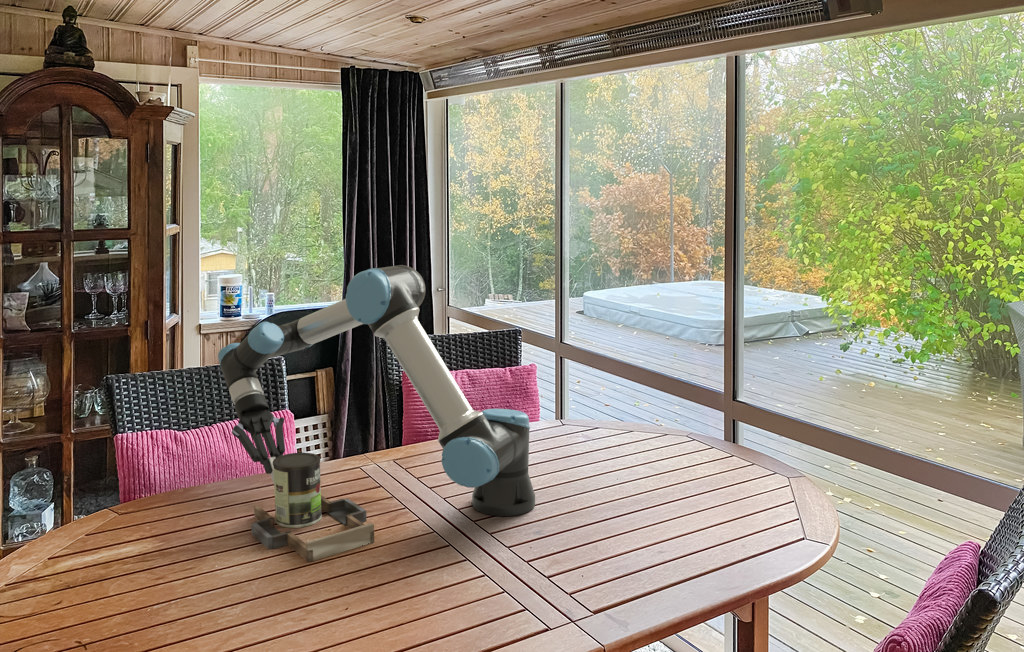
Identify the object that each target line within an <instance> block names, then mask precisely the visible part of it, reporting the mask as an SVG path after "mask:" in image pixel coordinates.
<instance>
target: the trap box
mask: <svg viewBox="0 0 1024 652" xmlns="http://www.w3.org/2000/svg"><path fill="white" fill-rule="evenodd" d="M322 509H323V510H322ZM321 510H322V511H324V512H325V513H326V514H327V515H329V516H331V517H332V518H333V519H335V520H336V521H338V522H340V523H341V524H342V525H343V526H345V527H346V526H347V527H346V528H348V529H346V530H343V531H339V532H336V533H332V534H329V535H325V536H322V537H319V538H315V539H312V540H308V541H306V542H304V540H302V539H301V538H299V537H298V536H297V535H296V534H294V533H293V532H292V531H291V530H288V531H285V532H281V531H279V530H278V529H277V528H276V527H275V523H276V521H275V518H274V517H273V516H272V515H270V513H269V512H267V511H265V510H264V509H263V508H262V507H261V506H260V505H255V506H253V516H254V518H255V519H256V518H257V519H256V521H254V522H252V523H251V525H250V528H251V535H252V536H253V537H254V538H255V539H256V540H257V541H258V542H260V544H261V545H263V546H264V547H265V548H266V549H268V550H270V549H273V550H275V549H278V548H282V547H284V546H285V547H286V546H289V547H290V549H292V550H293V551H295V553H297V554H298V555H299V556H300V557H301V558H303V559H304V560H305V561H306V562H307V563H311V562H314V561H317V560H321V559H324V558H327V557H331V556H334V555H337V554H340V553H343V552H346V551H347V552H348V551H349V550H353V549H357V548H360V547H363V546H366V545H369V544H372V542H373V543H374V542H375V524H374V523H373V522H369V523H366V524H364V523H365V522H367V510H366V509H365V508H364V507H363V506H360V505H359V504H357V503H355V502H354V501H352V499H350V498H348V497H347V498H339V499H336V500H331V501H330V500H329V499H327V498H326V497H324V496H323V495H321ZM363 522H364V523H363ZM349 528H350V529H349ZM368 543H369V544H368ZM362 545H363V546H362Z"/></svg>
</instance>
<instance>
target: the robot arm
mask: <svg viewBox="0 0 1024 652" xmlns="http://www.w3.org/2000/svg"><path fill="white" fill-rule="evenodd" d="M425 296H426V284H425V280H424V278H423V277H422V275H421V273H419V272H418V271H417V270H416V269H415V268H413V267H411V266H408V265H404V264H399V265H398V264H397V265H393V266H385V267H377V268H376V267H374V268H373V267H372V268H368V269H366V270H363V271H360V272H358V273H357V274H355V275H354V276H353V277H352V278H351V279H350V281H349V283H348V285H347V287H346V294H345V298H344V299H342V300H339V301H337V302H335V303H332V304H330V305H328V306H326V307H323V308H320V309H318V310H317V311H315V312H312V313H309V314H307V315H305V316H303V317H301V318H298V319H295V320H293V321H291V322H288V323H284V324H280V325H277V324H275V323H273V322H269V321H261V322H260V323H259V324H257V325H256V326H255V327H254V328H252V329H251V330H250V332H249V333H248V334H247V336H245V337H244V339H243V340H242V341H241V342H232V343H228V344H227V345H226V346H223V347H222V348H221V349H220V350H219V351H218V354H217V359H218V363H219V368H220V371H221V373H222V374H223V378H224V380H225V384H226V386H227V388H228V391H229V392H228V393H229V394H230V397H231V399H232V400H231V401H232V403H233V405H234V410H235V412H236V414H237V417H238V424H237V425H234V426H233V428H232V431H231V434H232V435H233V436H234V437H235V438H236V439H238V441H239V442H240V444H241V445H242V447H243V448H244V449H245V451H246V452H247V455H248V456H249V457H250V459H251V460H252V462H253V463H257V462H259V463H260V465H262V467H263V468H264V471H265V474H266V475H269V474H270V478H271V480H272V483H273V484H274V466H273V460H274V459H275V458H277V457H279V456H282V455H285V452H286V446H285V435H284V423H285V417H279V418H278V417H275V416H274V414H273V412H271V411H270V407H269V404H268V402H267V399H266V396H265V395H264V391H263V387H262V385H261V382H260V380H259V378H258V375H257V370H258V369H259V368H261V367H262V366H263V365H264V364H265V363H266V361H268V360H269V359H272V358H276V357H279V356H282V355H283V356H284V355H286V354H290V353H293V352H298V351H303V350H306V349H308V348H310V347H312V346H313V345H314V344H317V343H319V342H322V341H324V340H327V339H329V338H332V337H334V336H336V335H339V334H342V333H344V332H346V331H350V330H352V329H354V328H356V327H359V326H362V325H368V326H369V328H370V330H371V331H372V334H373V335H374V336H375V337H377V338H381V339H383V340H385V342H386V344H387V345H388V347H389V349H390V350H391V352H392V353H393V355H394V357H395V358H396V360H397V361H398V363H399V365H400V367H401V368H402V370H403V372H404V373H405V374H406V377H407V378H408V379H409V382H410V383H411V385H412V387H413V388H414V390H415V391H416V392H417V394H418V397H419V398H420V399H421V401H422V403H423V405H424V406H425V408H426V410H427V411H428V412H429V414H430V416H431V418H432V420H433V421H434V423H435V424H436V426H437V427H438V430H439V433H438V439H437V441H438V443H439V444H440V446H441V448H442V449H443V450H442V453H441V457H442V458H441V465H442V469H443V471H444V473H445V474H446V476H448V478H449V479H450V480H451V481H452V482H454V483H455V484H457V485H459V486H461V487H462V486H463V487H466V488H469V489H470V488H474V489H473V490H472V497H471V505H472V507H473V508H474V509H475V510H476V511H478V512H480V513H482V514H486V515H490V516H497V517H513V516H519V515H523V514H526V513H528V512H530V511H532V510H533V509H534V507H535V506H536V493H535V490H534V488H533V485H532V481H531V478H530V475H529V463H530V462H529V461H530V460H529V455H530V429H531V427H530V417H529V416H528V414H527V413H526V412H524V411H520V410H517V409H509V408H487V409H483V410H482V411H478V410H475V409H474V408H473V407H472V406H471V404H470V403H469V401H468V399H467V398H466V395H465V394H464V392H463V391H462V390H461V388H460V386H459V384H458V382H457V381H456V379H455V378H454V376H453V375H452V373H451V372H450V369H449V368H448V366H447V365H446V363H445V362H444V360H443V359H442V357H441V355H440V354H439V352H438V350H437V348H436V347H435V345H434V344H433V342H432V340H431V339H430V336H429V335H428V334H427V332H426V330H425V329H424V327H423V326H422V324H421V323H420V321H419V313H420V311H421V310H420V306H421V305H422V303H423V301H424V299H425ZM272 423H273V427H274V428H275V431H274V432H275V440H274V437H273V434H272V432H271V430H272V429H271V426H272ZM247 433H248V434H249V435H250V436H251V438H250V437H249V435H248V434H247ZM251 439H252V440H253V441H252V440H251ZM275 441H276V443H275ZM531 509H532V510H531Z"/></svg>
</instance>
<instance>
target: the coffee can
mask: <svg viewBox="0 0 1024 652" xmlns="http://www.w3.org/2000/svg"><path fill="white" fill-rule="evenodd" d="M273 466H274V483H273V486H274V487H273V488H274V507H275V508H274V509H275V512H274V513H275V519H274V522H275V523H276V524H277V525H278V526H280V527H282V528H287V529H289V528H290V529H298V528H306V527H310V526H312V525H315V524H316V523H318V522H320V521H321V520H322V516H323V515H322V509H321V494H322V493H321V492H322V491H321V490H322V489H321V488H322V487H321V456H319V454H315V453H311V452H293V453H291V452H290V453H286V454H285V453H284V454H283V455H282V456H279V457H277V458H275V459H274V460H273Z"/></svg>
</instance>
